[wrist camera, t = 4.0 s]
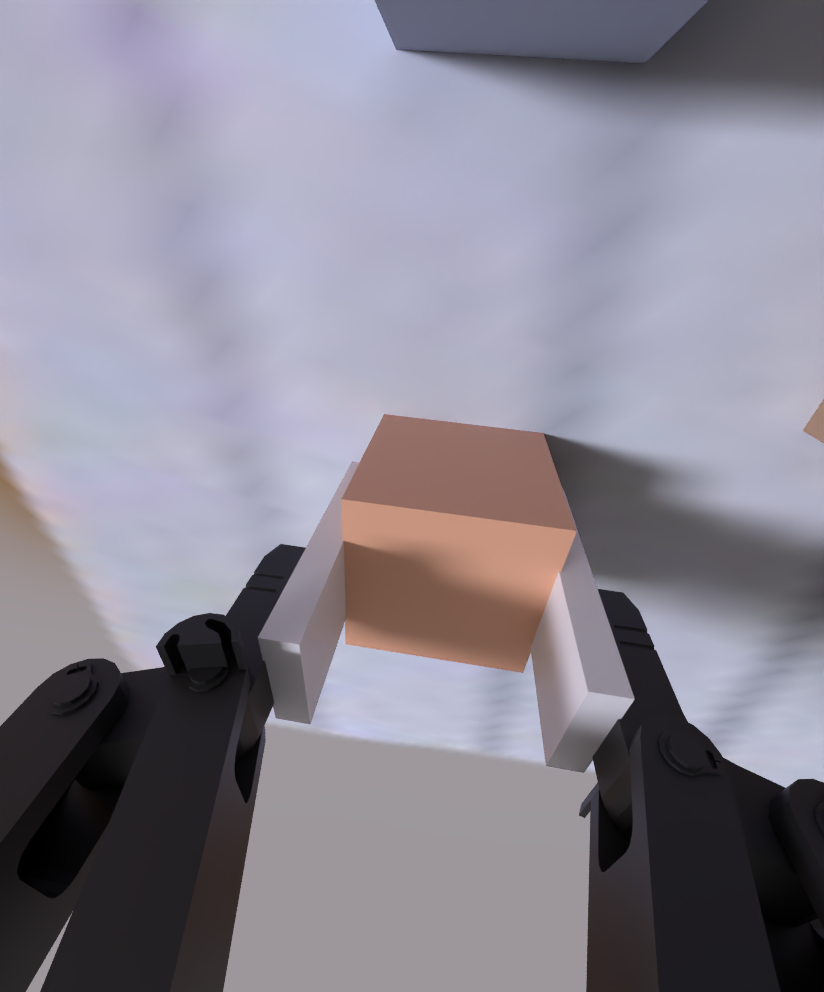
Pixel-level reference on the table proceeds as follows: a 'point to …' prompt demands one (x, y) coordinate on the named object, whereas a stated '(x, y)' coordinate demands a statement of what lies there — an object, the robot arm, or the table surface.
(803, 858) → the robot arm
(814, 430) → the walnut cube
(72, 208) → the table surface
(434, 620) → the terracotta cube
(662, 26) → the slate rectangular block
